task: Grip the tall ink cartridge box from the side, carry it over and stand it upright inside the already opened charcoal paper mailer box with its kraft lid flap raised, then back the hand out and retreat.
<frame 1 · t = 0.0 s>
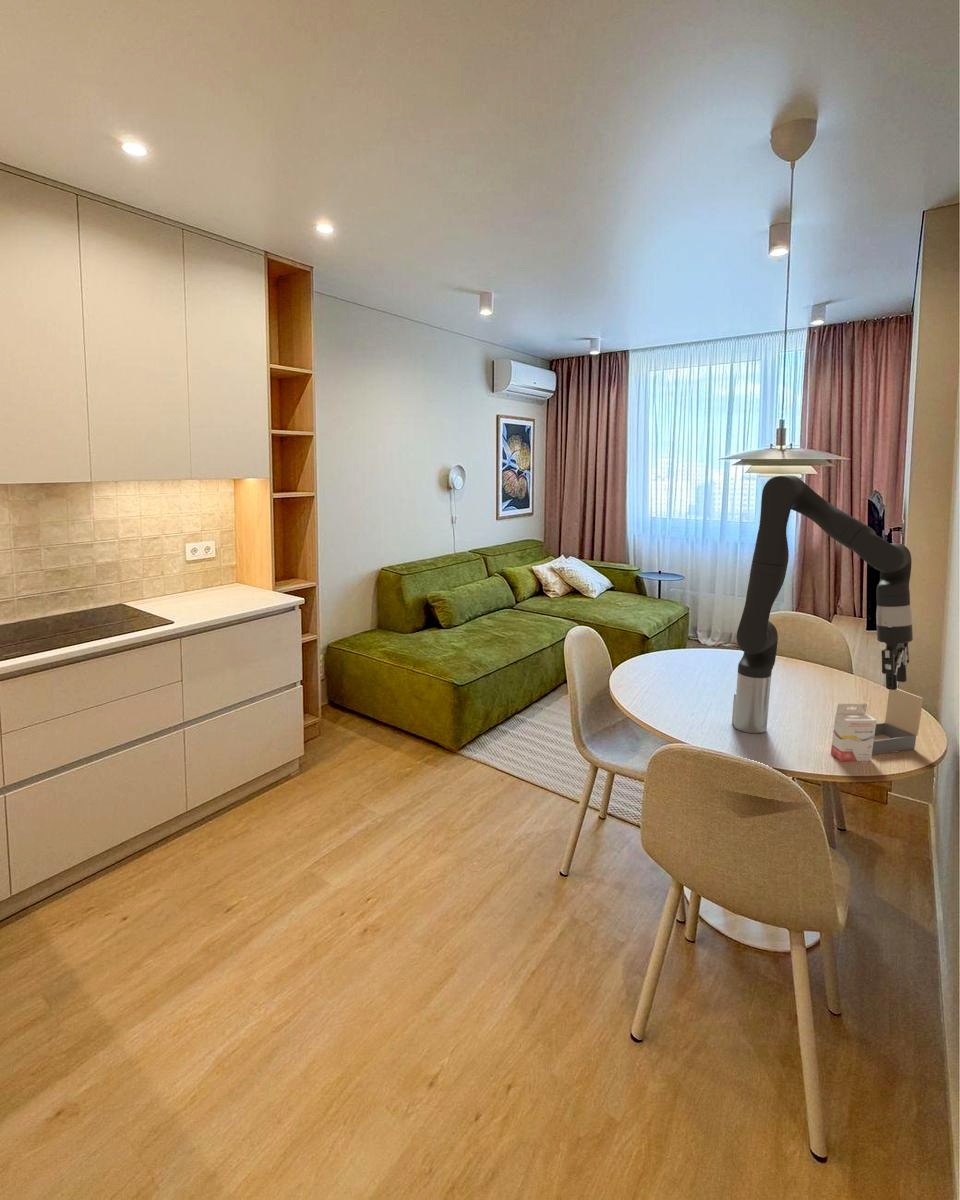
hand: (896, 685, 159), 22 cm above the table, tool pointing down, fingers open, 8 cm apart
mailer box: (878, 744, 177), on the table
ink cartridge box: (850, 758, 169), on the table
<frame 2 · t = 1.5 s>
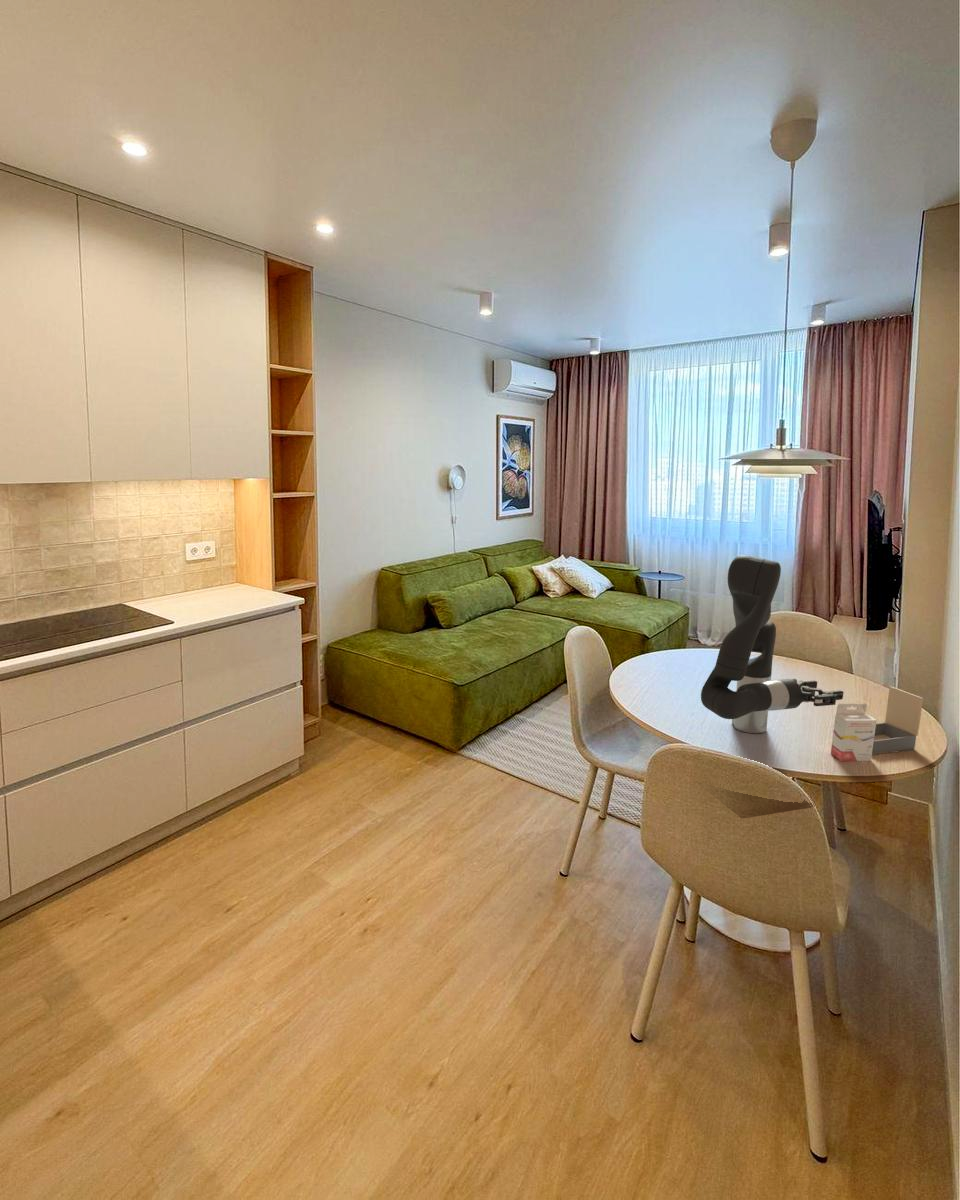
hand: (828, 689, 163), 20 cm above the table, tool horizontal, fingers open, 8 cm apart
nothing on the table moved.
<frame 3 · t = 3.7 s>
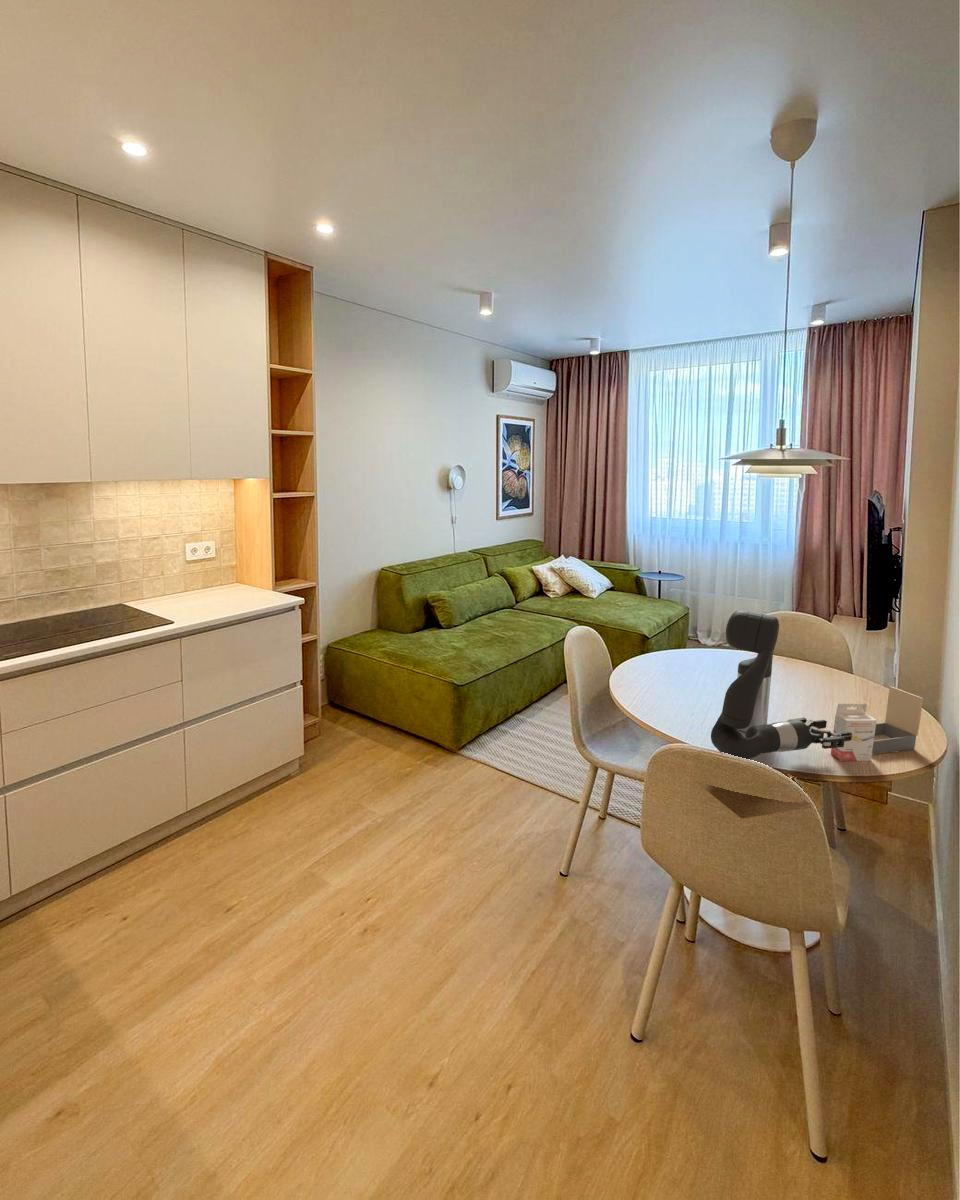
hand: (837, 729, 166), 9 cm above the table, tool horizontal, fingers open, 8 cm apart
nothing on the table moved.
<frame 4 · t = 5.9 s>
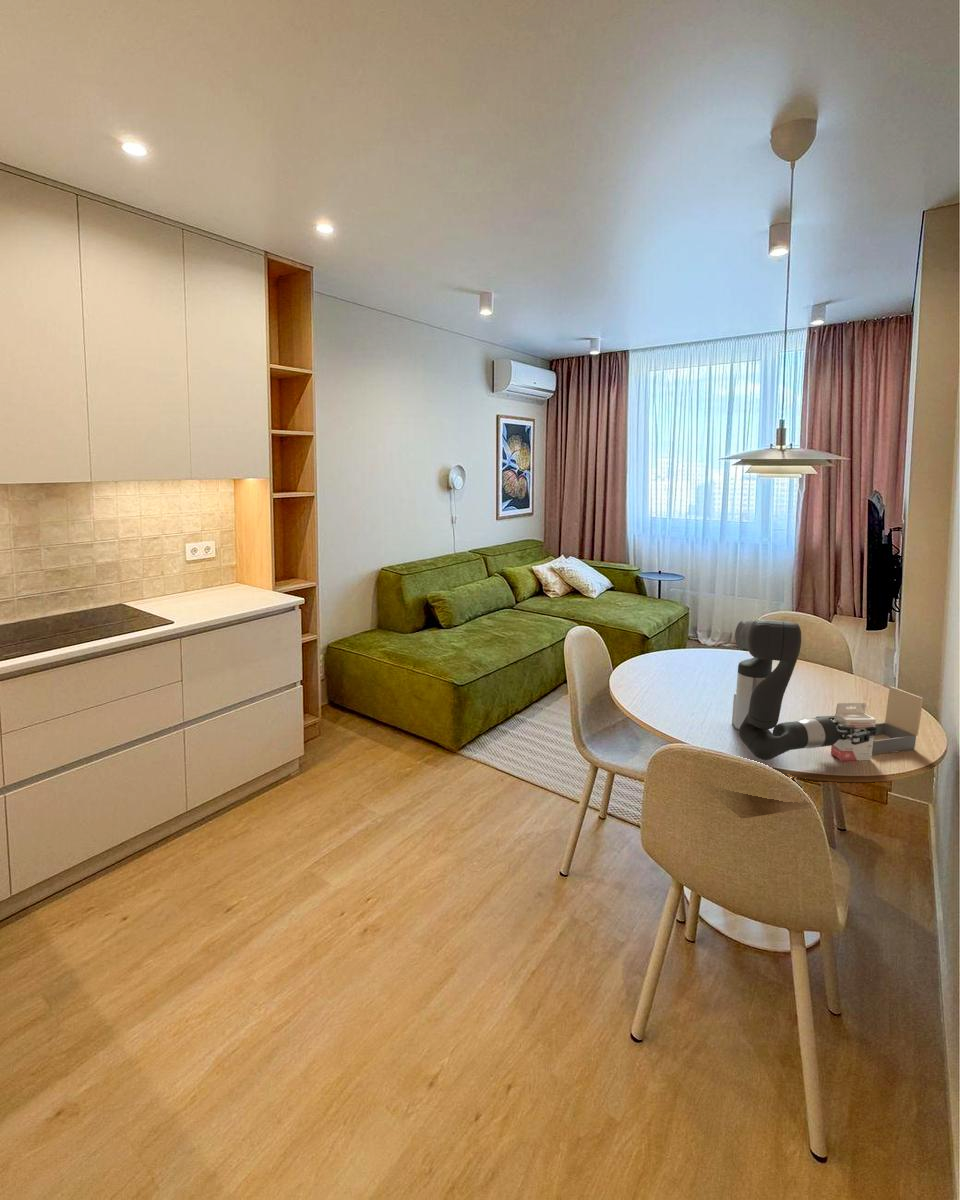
hand: (865, 726, 168), 9 cm above the table, tool horizontal, fingers closed on ink cartridge box, 5 cm apart
ink cartridge box: (850, 757, 169), on the table, touching gripper
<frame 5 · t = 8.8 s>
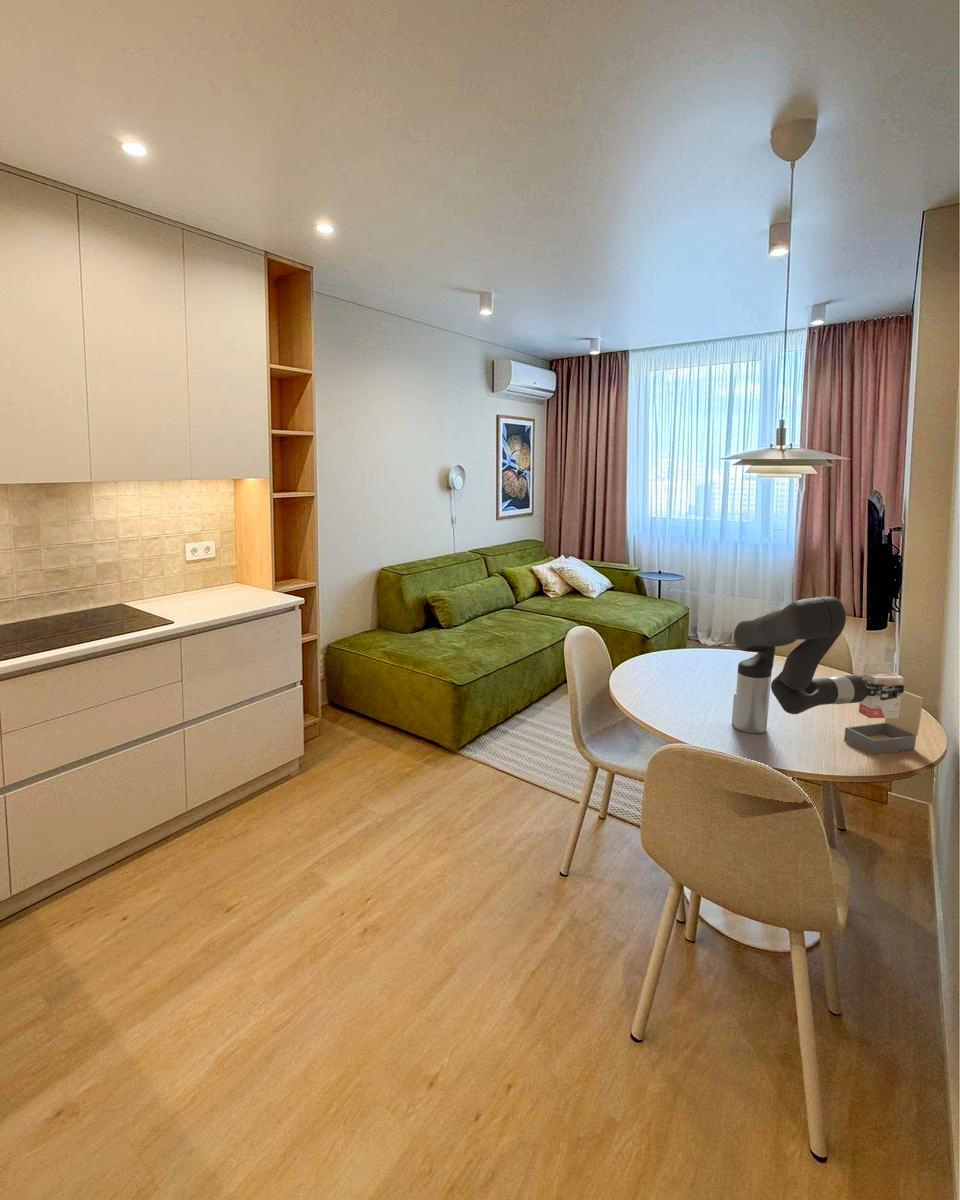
hand: (892, 685, 173), 18 cm above the table, tool horizontal, fingers closed on ink cartridge box, 5 cm apart
ink cartridge box: (878, 716, 174), point 9 cm above the table, touching gripper
when the fingers open (10 cm above the table, at t = 11.3 s): ink cartridge box stays where it is, resting on mailer box.
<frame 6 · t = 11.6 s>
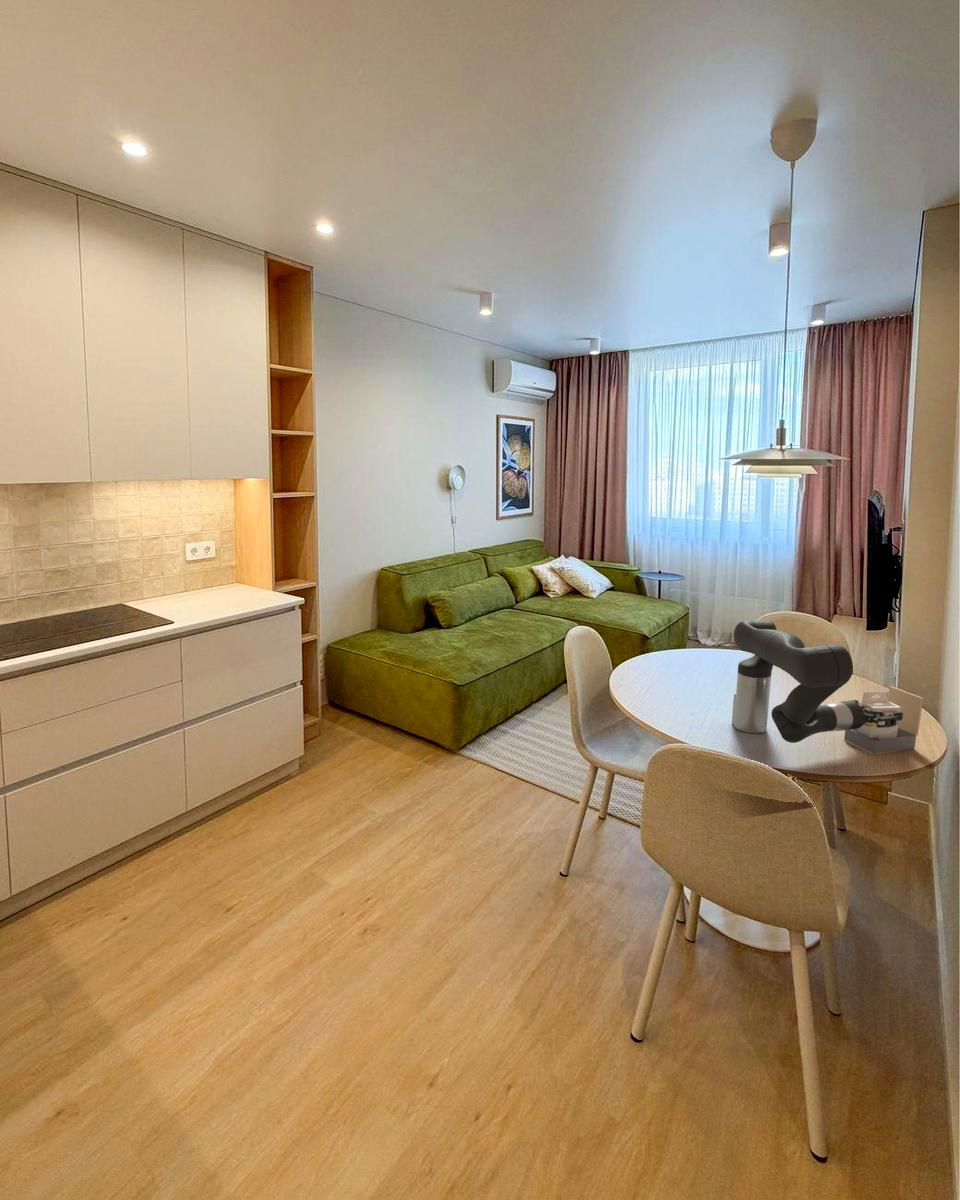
hand: (888, 710, 176), 10 cm above the table, tool horizontal, fingers open, 7 cm apart
ink cartridge box: (875, 744, 177), resting on mailer box
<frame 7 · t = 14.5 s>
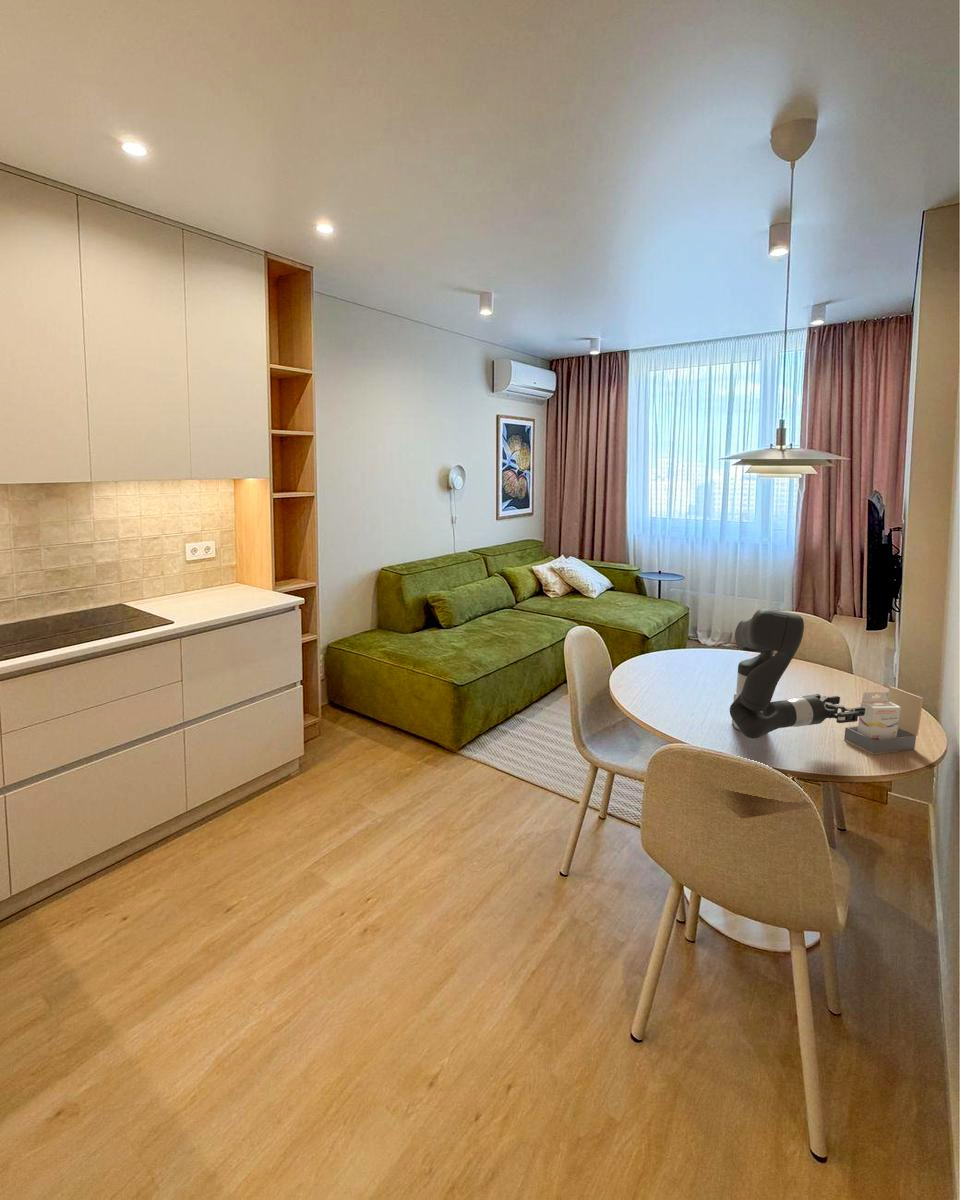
hand: (851, 705, 172), 13 cm above the table, tool horizontal, fingers open, 8 cm apart
nothing on the table moved.
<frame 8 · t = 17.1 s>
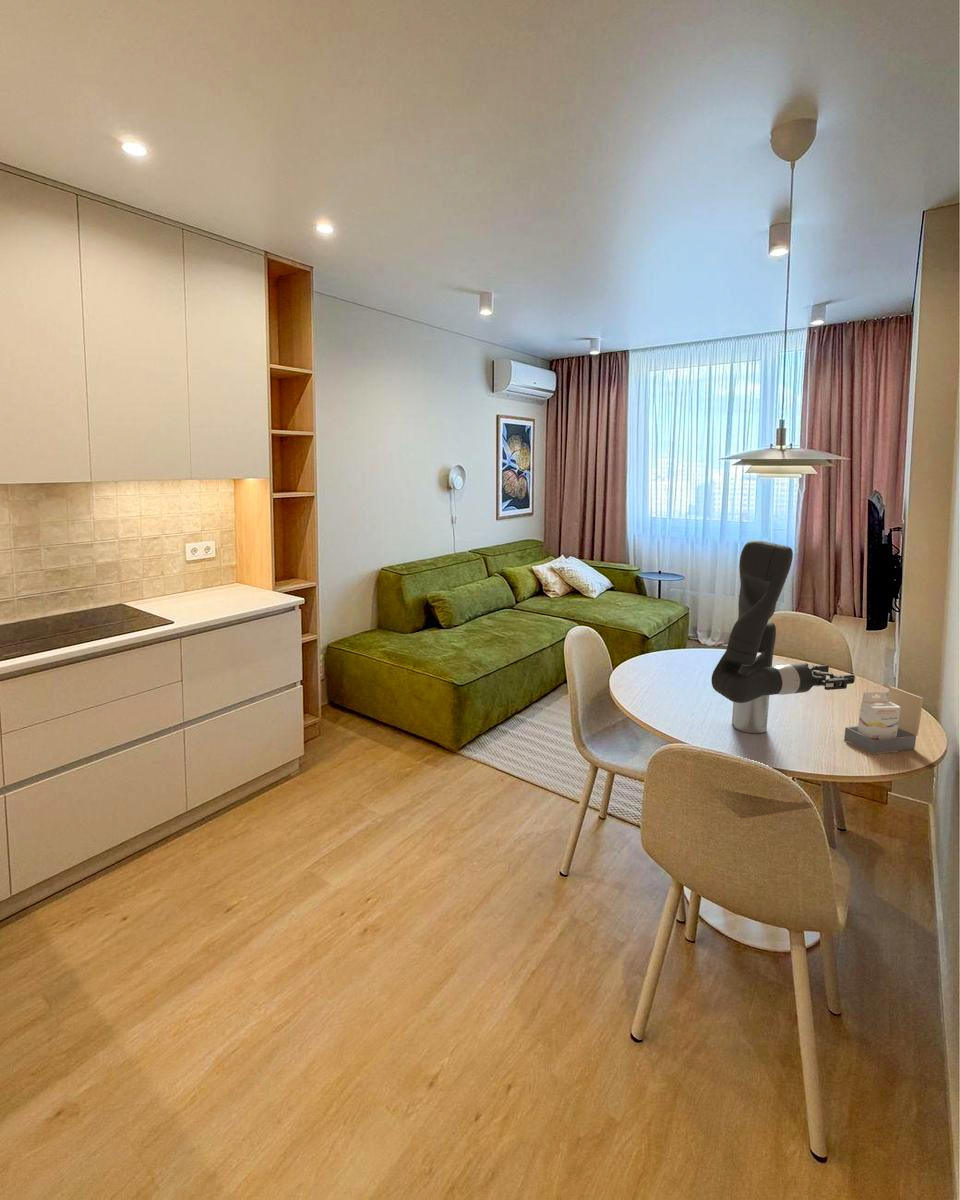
hand: (840, 673, 164), 24 cm above the table, tool horizontal, fingers open, 8 cm apart
nothing on the table moved.
at the end: ink cartridge box inside the target area on the mailer box (1.0 cm from its centre), point 0.3 cm above the mailer box's base; ink cartridge box tilted 0°; the gripper is holding nothing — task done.
